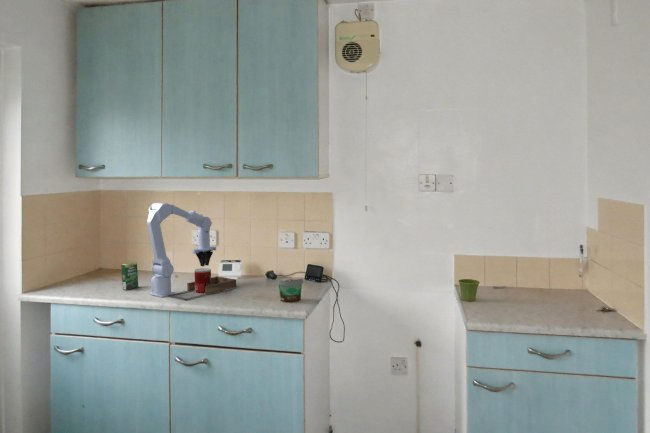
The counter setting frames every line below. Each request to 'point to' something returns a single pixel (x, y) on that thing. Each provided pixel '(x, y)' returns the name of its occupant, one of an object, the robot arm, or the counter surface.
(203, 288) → the canned food
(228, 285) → the wooden tray
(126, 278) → the coffee box
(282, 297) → the food container
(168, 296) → the frame
